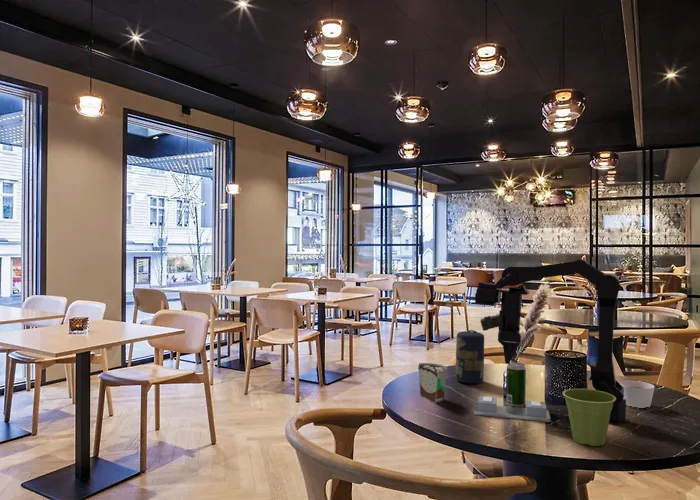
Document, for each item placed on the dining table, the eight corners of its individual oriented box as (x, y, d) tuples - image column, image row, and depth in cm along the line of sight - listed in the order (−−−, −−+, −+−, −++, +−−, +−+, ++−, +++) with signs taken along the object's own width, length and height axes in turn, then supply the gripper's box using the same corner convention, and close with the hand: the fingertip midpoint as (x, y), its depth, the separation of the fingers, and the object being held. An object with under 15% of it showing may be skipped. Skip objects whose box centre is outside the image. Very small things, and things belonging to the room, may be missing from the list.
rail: (548, 414, 145) (548, 410, 145) (550, 422, 138) (550, 418, 138) (475, 406, 151) (475, 403, 151) (474, 414, 144) (474, 410, 144)
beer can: (517, 408, 150) (517, 367, 150) (502, 403, 154) (503, 363, 154) (529, 405, 153) (529, 365, 153) (514, 400, 157) (514, 361, 157)
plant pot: (578, 428, 133) (578, 385, 133) (624, 443, 124) (625, 396, 124) (552, 438, 126) (552, 393, 126) (599, 454, 117) (600, 405, 117)
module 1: (496, 406, 148) (496, 396, 148) (496, 412, 143) (496, 402, 143) (478, 404, 150) (478, 395, 150) (477, 410, 144) (477, 401, 144)
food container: (456, 403, 154) (456, 370, 153) (438, 405, 151) (438, 372, 151) (434, 392, 165) (434, 361, 165) (417, 394, 163) (418, 362, 163)
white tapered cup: (646, 412, 147) (647, 390, 147) (614, 404, 154) (614, 383, 154) (659, 406, 153) (659, 385, 153) (627, 399, 160) (627, 378, 160)
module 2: (544, 410, 145) (544, 401, 145) (546, 417, 139) (546, 407, 139) (525, 408, 146) (526, 399, 146) (526, 415, 140) (526, 405, 140)
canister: (450, 379, 182) (451, 328, 182) (474, 377, 185) (474, 327, 185) (464, 386, 173) (465, 332, 173) (489, 384, 176) (489, 331, 175)
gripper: (484, 302, 164) (481, 350, 165) (481, 309, 146) (477, 363, 147) (521, 305, 161) (517, 354, 161) (522, 313, 143) (518, 369, 143)
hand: (507, 360), depth 153 cm, fingers open, 9 cm apart
